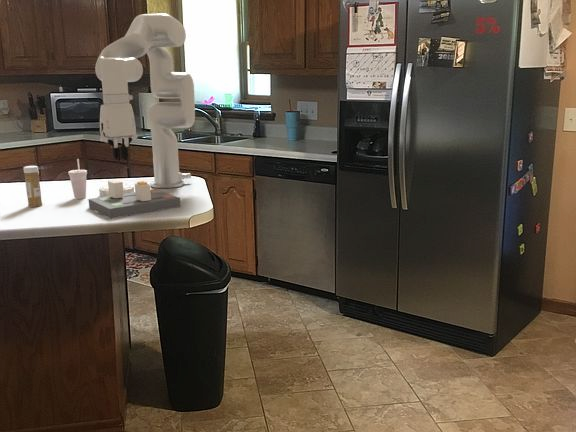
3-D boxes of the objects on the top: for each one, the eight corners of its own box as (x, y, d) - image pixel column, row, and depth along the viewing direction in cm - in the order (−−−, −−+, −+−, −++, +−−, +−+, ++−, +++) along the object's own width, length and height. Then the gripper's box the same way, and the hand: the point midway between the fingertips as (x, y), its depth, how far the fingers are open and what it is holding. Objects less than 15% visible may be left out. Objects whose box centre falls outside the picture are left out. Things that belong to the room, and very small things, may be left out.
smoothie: (83, 200, 216) (80, 160, 212) (67, 199, 217) (63, 160, 214) (93, 196, 222) (89, 157, 218) (76, 195, 223) (72, 157, 220)
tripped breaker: (144, 197, 203) (143, 180, 202) (151, 199, 200) (149, 182, 198) (135, 198, 202) (134, 181, 200) (142, 201, 198) (141, 184, 196)
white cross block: (95, 199, 218) (94, 189, 217) (106, 192, 230) (105, 182, 229) (128, 199, 217) (127, 189, 216) (138, 192, 229) (137, 182, 228)
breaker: (117, 194, 208) (116, 179, 207) (123, 197, 204) (122, 182, 203) (109, 195, 206) (107, 181, 205) (115, 198, 203) (113, 183, 201)
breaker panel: (156, 197, 219) (155, 188, 218) (180, 206, 205) (179, 197, 204) (89, 207, 205) (88, 198, 204) (110, 218, 191) (109, 208, 190)
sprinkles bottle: (42, 206, 207) (38, 166, 204) (28, 208, 206) (23, 167, 202) (42, 203, 211) (37, 164, 208) (27, 205, 210) (22, 165, 206)
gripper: (135, 98, 196) (139, 155, 201) (86, 100, 187) (92, 161, 192) (145, 99, 191) (149, 158, 195) (95, 101, 181) (101, 164, 186)
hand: (120, 159), depth 193 cm, fingers closed
